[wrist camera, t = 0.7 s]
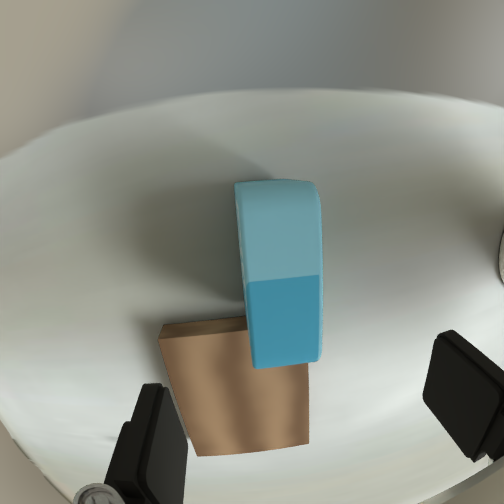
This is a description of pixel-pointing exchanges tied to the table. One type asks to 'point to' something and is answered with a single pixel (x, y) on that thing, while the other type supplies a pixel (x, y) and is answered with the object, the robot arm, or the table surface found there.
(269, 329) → the data package
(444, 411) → the robot arm
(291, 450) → the table surface
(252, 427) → the base plate
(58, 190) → the table surface
